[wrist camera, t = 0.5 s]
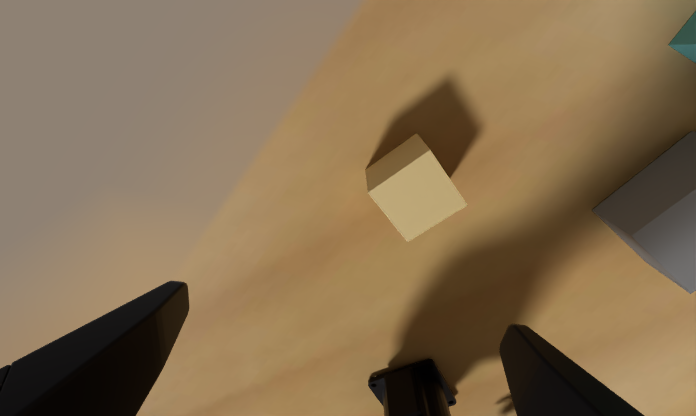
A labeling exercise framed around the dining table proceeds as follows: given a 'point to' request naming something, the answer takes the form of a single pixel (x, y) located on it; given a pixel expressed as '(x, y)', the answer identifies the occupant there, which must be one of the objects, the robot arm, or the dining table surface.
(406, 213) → the brick
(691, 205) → the base brick
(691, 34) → the teal brick
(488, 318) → the dining table surface
